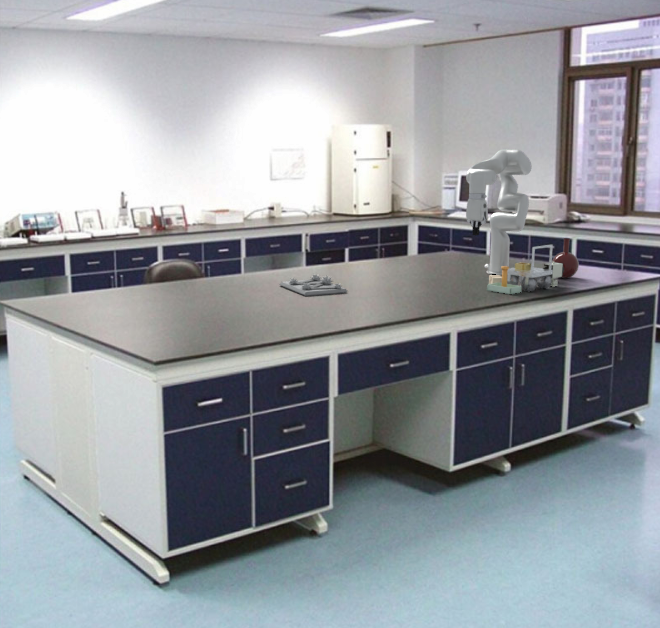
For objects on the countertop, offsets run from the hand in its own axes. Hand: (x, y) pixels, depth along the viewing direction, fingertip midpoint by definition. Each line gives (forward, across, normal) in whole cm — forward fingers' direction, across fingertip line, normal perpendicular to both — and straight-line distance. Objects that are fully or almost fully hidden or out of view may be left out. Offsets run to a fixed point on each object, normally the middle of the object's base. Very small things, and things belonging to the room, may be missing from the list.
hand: (475, 235), depth 424 cm
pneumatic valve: (+24, -31, -19) cm, 44 cm away
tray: (+23, -25, +10) cm, 35 cm away
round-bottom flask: (+24, -21, -45) cm, 55 cm away
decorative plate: (+22, +35, +74) cm, 85 cm away
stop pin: (+22, -25, +10) cm, 35 cm away
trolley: (+23, -27, -5) cm, 36 cm away
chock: (+23, -13, 0) cm, 26 cm away
